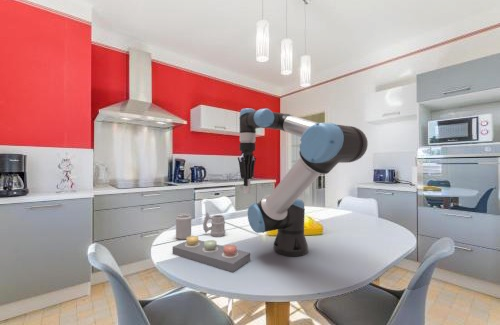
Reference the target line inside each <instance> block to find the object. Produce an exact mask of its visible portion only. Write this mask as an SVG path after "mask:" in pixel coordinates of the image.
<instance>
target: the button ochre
mask: <svg viewBox="0 0 500 325" xmlns="http://www.w3.org/2000/svg"><path fill="white" fill-rule="evenodd" d="M198 240H199V236H197V235H191V236H189V237H187V239H186V241H185V242H186V243H187V244H190V245H192V244H197V243H198Z"/></svg>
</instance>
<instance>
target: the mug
mask: <svg viewBox="0 0 500 325" xmlns="http://www.w3.org/2000/svg"><path fill="white" fill-rule="evenodd" d="M209 220H211V226H210V227H209V226H207V223H208V221H209ZM225 224H226V222H225V216H224V215H223V214H222V215H221V214H217V215H213V216H210V213H209V212H207V211H206V212H205V218H204V219H203V223H202V226H203V227H202V228H203V229H202V230H203V231H204V233H208V232H209V231H210V235H211V237H213V238H221V237H224V236H225V233H226V229H225V226H226V225H225Z"/></svg>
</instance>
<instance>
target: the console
mask: <svg viewBox="0 0 500 325" xmlns="http://www.w3.org/2000/svg"><path fill="white" fill-rule="evenodd" d="M205 241H206V240H205ZM205 241H204V240H200V239H198V243H197V244H192V245H190V244H187V243H186V241H184V242H180V243H179V244H176V245H173V246H172V255H176V256H179V257H183V258H185V259H188V260H192V261H195V262H198V263H202V264H205V265H207V266H212V267H215V268H218V269H222V270H224V271H228V272H230V273H234V272H236V271H237V270H238V269H239V268H241V267H243V266H244V265H246V264H247V263H248V262H250V261H251V252H248V251H246V250H240V249H237V253H236V254H233V255H227V254H224V246H225V245H221V244H217V247H216V248H215V249H205V248H204V242H205Z"/></svg>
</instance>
